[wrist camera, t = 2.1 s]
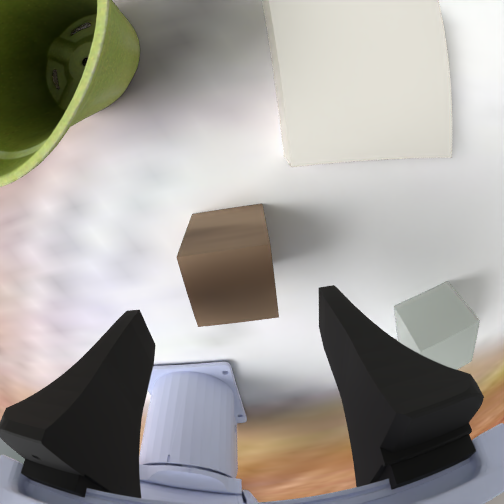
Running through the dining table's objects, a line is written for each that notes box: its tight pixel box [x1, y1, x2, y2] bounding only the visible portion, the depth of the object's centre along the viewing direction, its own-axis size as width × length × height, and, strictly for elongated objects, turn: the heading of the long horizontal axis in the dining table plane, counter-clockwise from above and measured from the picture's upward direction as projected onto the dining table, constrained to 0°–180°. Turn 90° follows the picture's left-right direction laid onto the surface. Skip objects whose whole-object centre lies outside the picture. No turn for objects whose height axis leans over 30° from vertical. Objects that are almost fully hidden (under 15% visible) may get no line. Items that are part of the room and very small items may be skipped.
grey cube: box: [394, 282, 480, 370], centre depth 20 cm, size 5×5×5 cm
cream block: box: [262, 0, 452, 167], centre depth 13 cm, size 9×9×3 cm
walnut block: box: [177, 204, 279, 327], centre depth 16 cm, size 4×4×5 cm
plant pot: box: [0, 0, 140, 187], centre depth 9 cm, size 9×9×9 cm
